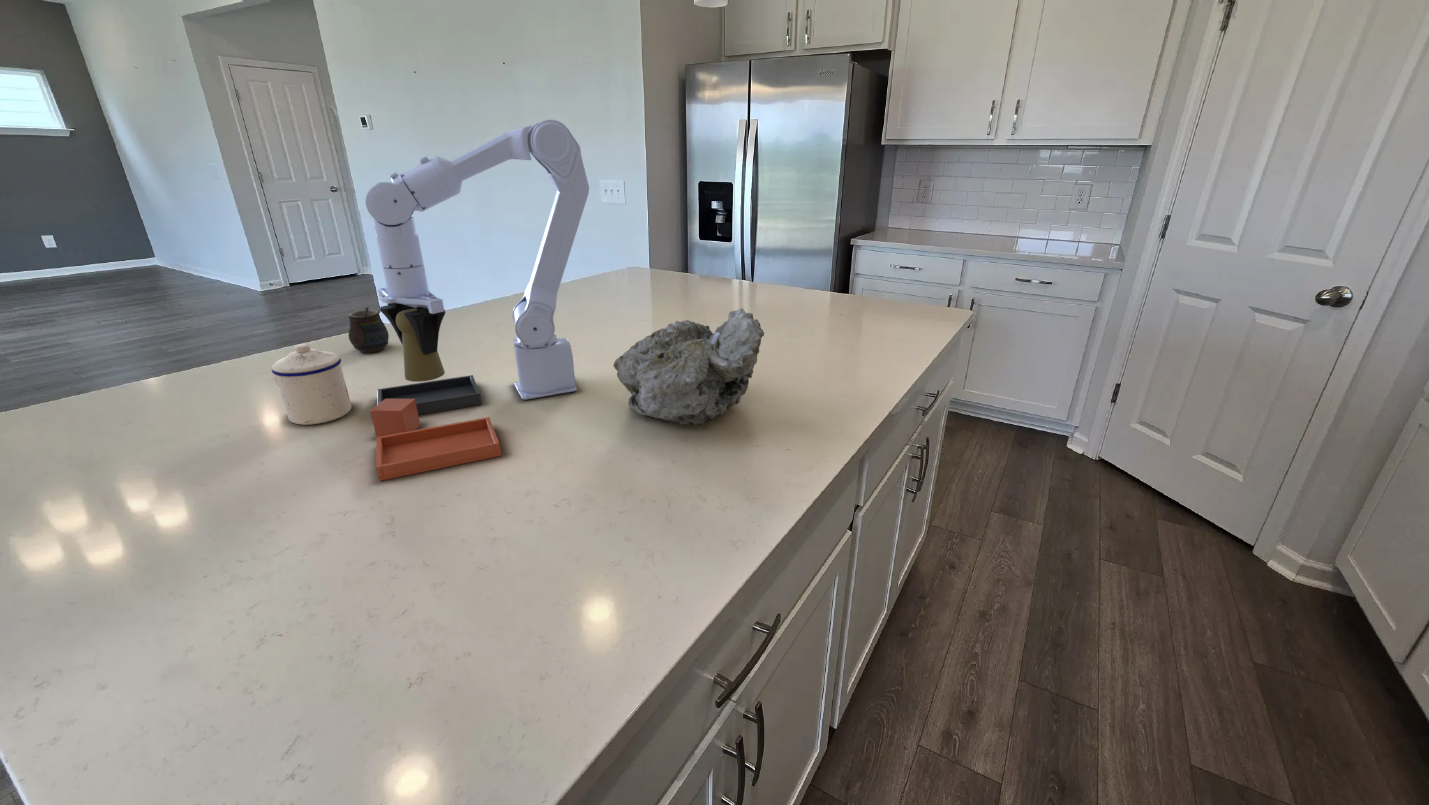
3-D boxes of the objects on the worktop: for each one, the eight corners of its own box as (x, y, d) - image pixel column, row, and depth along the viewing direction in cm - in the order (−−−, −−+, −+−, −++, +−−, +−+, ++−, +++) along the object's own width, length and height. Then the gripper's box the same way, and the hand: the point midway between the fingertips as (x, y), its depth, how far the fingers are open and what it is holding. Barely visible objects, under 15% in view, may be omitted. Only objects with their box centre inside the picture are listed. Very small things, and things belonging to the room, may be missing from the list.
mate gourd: (381, 342, 129) (371, 297, 125) (399, 348, 125) (389, 302, 121) (346, 350, 123) (334, 304, 119) (364, 357, 119) (352, 309, 115)
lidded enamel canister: (366, 406, 97) (349, 339, 92) (318, 429, 89) (296, 357, 84) (311, 397, 100) (292, 332, 96) (259, 419, 92) (235, 349, 88)
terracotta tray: (491, 428, 90) (489, 416, 89) (501, 455, 82) (499, 443, 81) (379, 449, 83) (376, 437, 83) (379, 481, 76) (375, 467, 75)
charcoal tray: (474, 385, 106) (472, 374, 105) (481, 404, 98) (480, 393, 98) (380, 399, 100) (377, 388, 99) (379, 421, 92) (377, 410, 91)
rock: (670, 301, 106) (762, 273, 86) (716, 379, 112) (812, 369, 92) (572, 375, 94) (652, 362, 74) (628, 458, 100) (717, 466, 80)
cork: (429, 383, 94) (416, 316, 89) (396, 379, 95) (381, 313, 90) (452, 370, 99) (440, 306, 95) (420, 367, 100) (407, 304, 96)
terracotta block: (376, 438, 87) (369, 410, 85) (391, 425, 91) (385, 398, 89) (406, 438, 87) (400, 410, 85) (420, 425, 91) (414, 398, 89)
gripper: (351, 264, 90) (371, 347, 96) (405, 275, 83) (423, 365, 88) (396, 257, 96) (412, 337, 101) (449, 267, 88) (464, 352, 94)
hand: (420, 349), depth 95 cm, fingers closed on cork, 5 cm apart
